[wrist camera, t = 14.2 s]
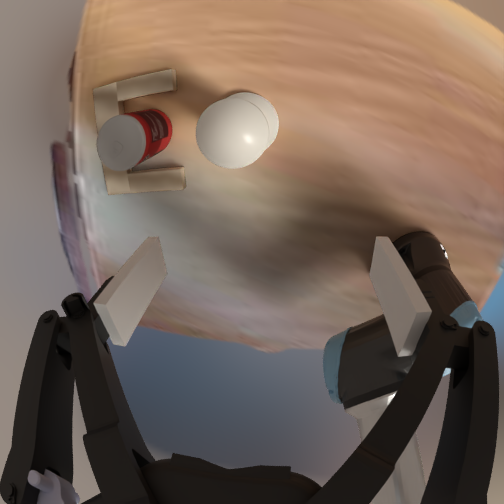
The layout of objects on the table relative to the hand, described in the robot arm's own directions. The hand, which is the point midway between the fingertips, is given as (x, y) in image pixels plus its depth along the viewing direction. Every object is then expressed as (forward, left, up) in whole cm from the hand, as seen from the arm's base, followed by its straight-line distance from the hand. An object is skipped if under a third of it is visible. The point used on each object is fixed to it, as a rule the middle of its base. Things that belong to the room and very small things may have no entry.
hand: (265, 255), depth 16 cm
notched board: (+5, +22, -29) cm, 37 cm away
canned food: (+5, +20, -30) cm, 36 cm away
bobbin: (+5, +4, -29) cm, 30 cm away
